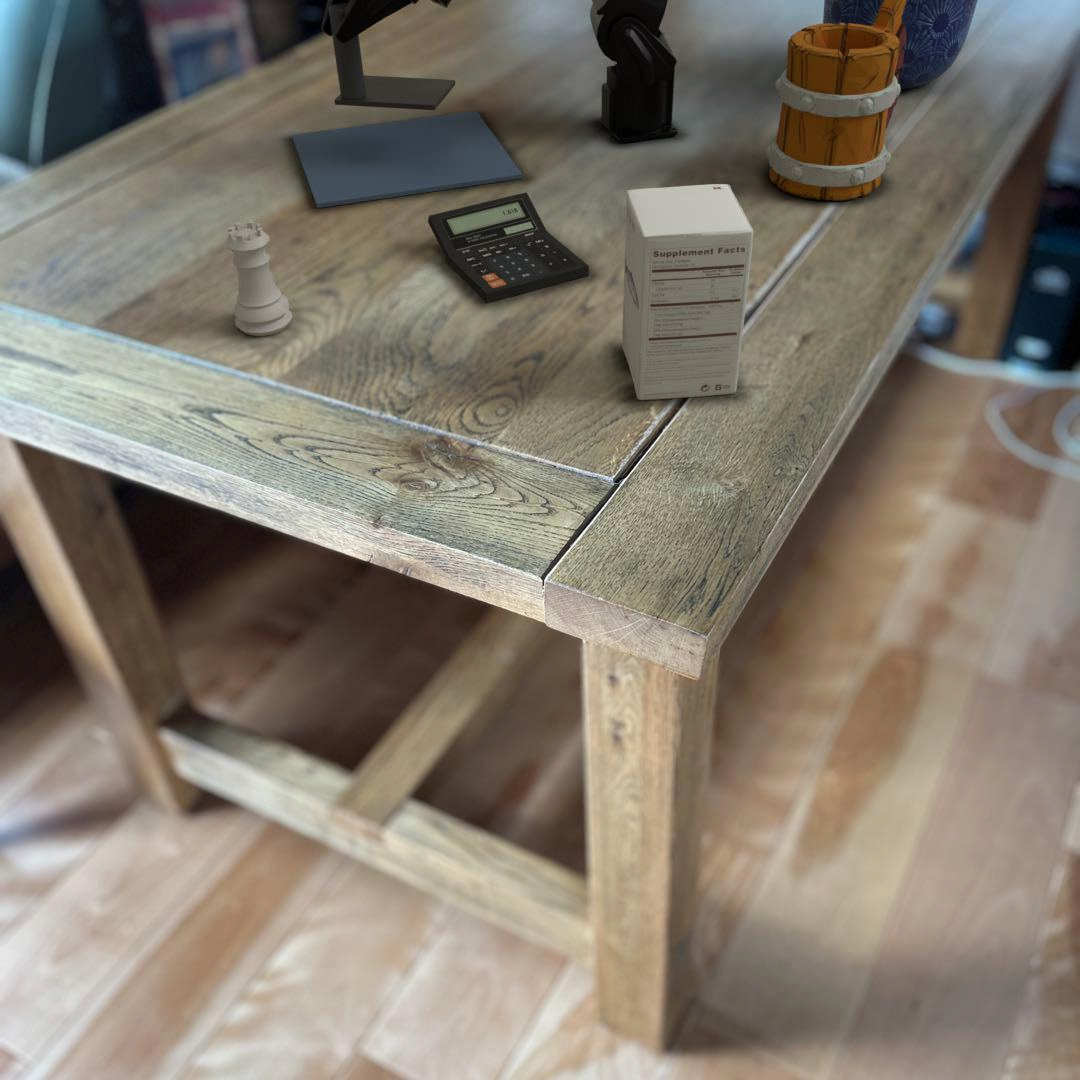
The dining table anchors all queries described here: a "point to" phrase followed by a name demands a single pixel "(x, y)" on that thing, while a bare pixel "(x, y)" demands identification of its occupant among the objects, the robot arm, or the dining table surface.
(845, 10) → the planter
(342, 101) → the peg stand
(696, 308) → the white packaging box
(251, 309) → the rook chess piece
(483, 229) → the calculator
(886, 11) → the mug
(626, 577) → the dining table surface
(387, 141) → the felt mat
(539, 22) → the dining table surface
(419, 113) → the dining table surface
